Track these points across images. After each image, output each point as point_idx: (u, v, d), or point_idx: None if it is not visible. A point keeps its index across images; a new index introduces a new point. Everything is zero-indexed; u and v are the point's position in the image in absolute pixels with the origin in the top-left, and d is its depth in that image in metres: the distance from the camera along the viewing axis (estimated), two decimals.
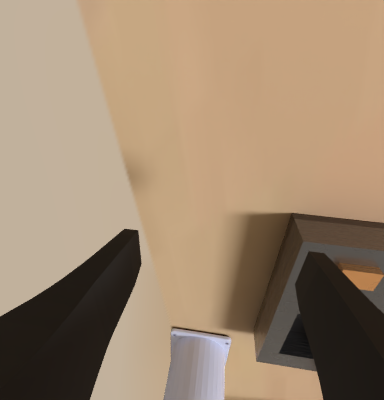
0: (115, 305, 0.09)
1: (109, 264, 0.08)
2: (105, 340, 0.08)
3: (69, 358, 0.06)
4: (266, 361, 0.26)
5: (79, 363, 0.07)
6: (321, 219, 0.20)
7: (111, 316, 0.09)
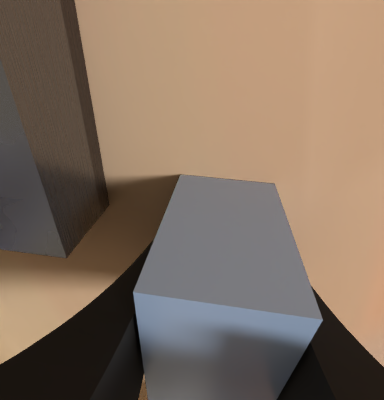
0: None
1: None
2: None
3: (126, 368, 0.06)
4: None
5: (132, 372, 0.06)
6: None
7: None
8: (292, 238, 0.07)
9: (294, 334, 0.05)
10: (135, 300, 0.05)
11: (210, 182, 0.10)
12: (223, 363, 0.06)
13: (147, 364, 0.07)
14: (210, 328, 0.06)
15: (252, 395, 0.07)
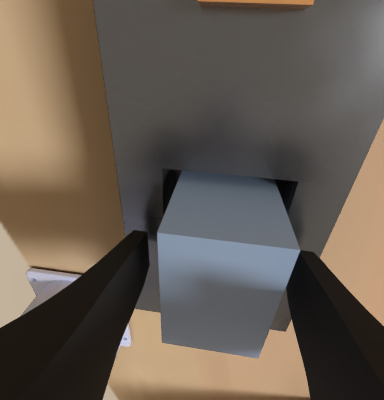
0: (126, 307, 0.09)
1: (121, 266, 0.08)
2: (116, 341, 0.08)
3: (84, 361, 0.06)
4: (151, 307, 0.14)
5: (93, 365, 0.07)
6: None
7: (122, 318, 0.09)
8: (281, 201, 0.09)
9: (279, 265, 0.07)
10: (158, 240, 0.07)
11: None
12: (226, 298, 0.08)
13: (163, 303, 0.09)
14: (215, 263, 0.07)
15: (248, 329, 0.09)
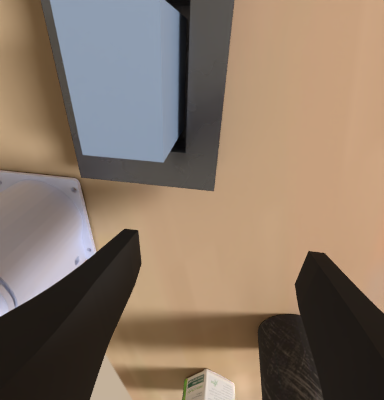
0: (115, 305, 0.09)
1: (109, 264, 0.08)
2: (105, 340, 0.08)
3: (69, 358, 0.06)
4: (94, 174, 0.16)
5: (79, 363, 0.07)
6: None
7: (111, 316, 0.09)
8: (173, 7, 0.10)
9: (149, 19, 0.08)
10: (51, 2, 0.08)
11: None
12: (119, 76, 0.09)
13: (72, 94, 0.10)
14: (100, 26, 0.09)
15: (146, 119, 0.10)
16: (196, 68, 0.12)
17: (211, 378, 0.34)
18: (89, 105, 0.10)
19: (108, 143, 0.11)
